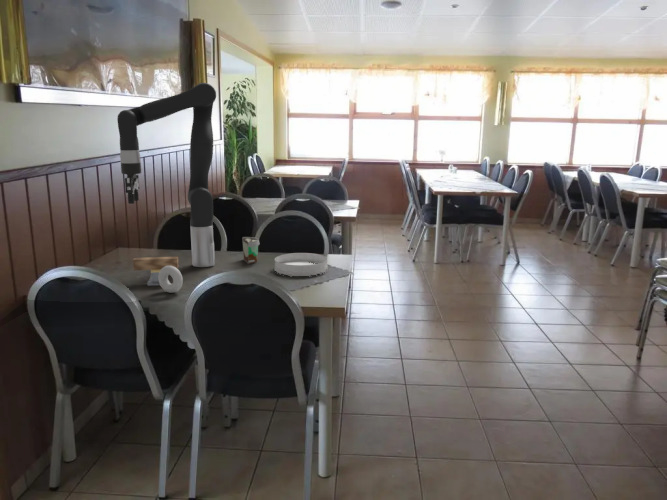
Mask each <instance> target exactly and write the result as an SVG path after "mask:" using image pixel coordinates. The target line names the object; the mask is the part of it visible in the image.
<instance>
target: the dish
mask: <svg viewBox="0 0 667 500" xmlns="http://www.w3.org/2000/svg"><path fill="white" fill-rule="evenodd" d="M308 261H314V262H315V263H318V264H315V263H314V264H313V263H311V262H310V263H309V262H308ZM326 269H327V270H328V258H327V256H325V255H323V254H318V253H312V252H311V253H310V252H293V253H292V252H291V253H285V254H281V255H280V254H279V255H278V256H276V257H275V258H274V272H275V271H277V272H279V273H283V274H292V275H310V274H316V273H320V272H323V271H325V270H326Z"/></svg>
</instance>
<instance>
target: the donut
mask: <svg viewBox="0 0 667 500" xmlns="http://www.w3.org/2000/svg"><path fill="white" fill-rule="evenodd" d="M169 276H170V277H171V278H172V283H171V281H170V280H169ZM183 278H184V277H183V275H182V273H181V271H180V270H179V268H178V269H177V268H176V267H174V266H165V267H163V268H162V269H161V270H160V272H159V275H158V280H159V284H160V285H159V286H160V288H162V290H163V291H164V292H167V293H170V294H173V293H177V292H179V291H180V290H181V288H182V286H183V282H184V279H183Z"/></svg>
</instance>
